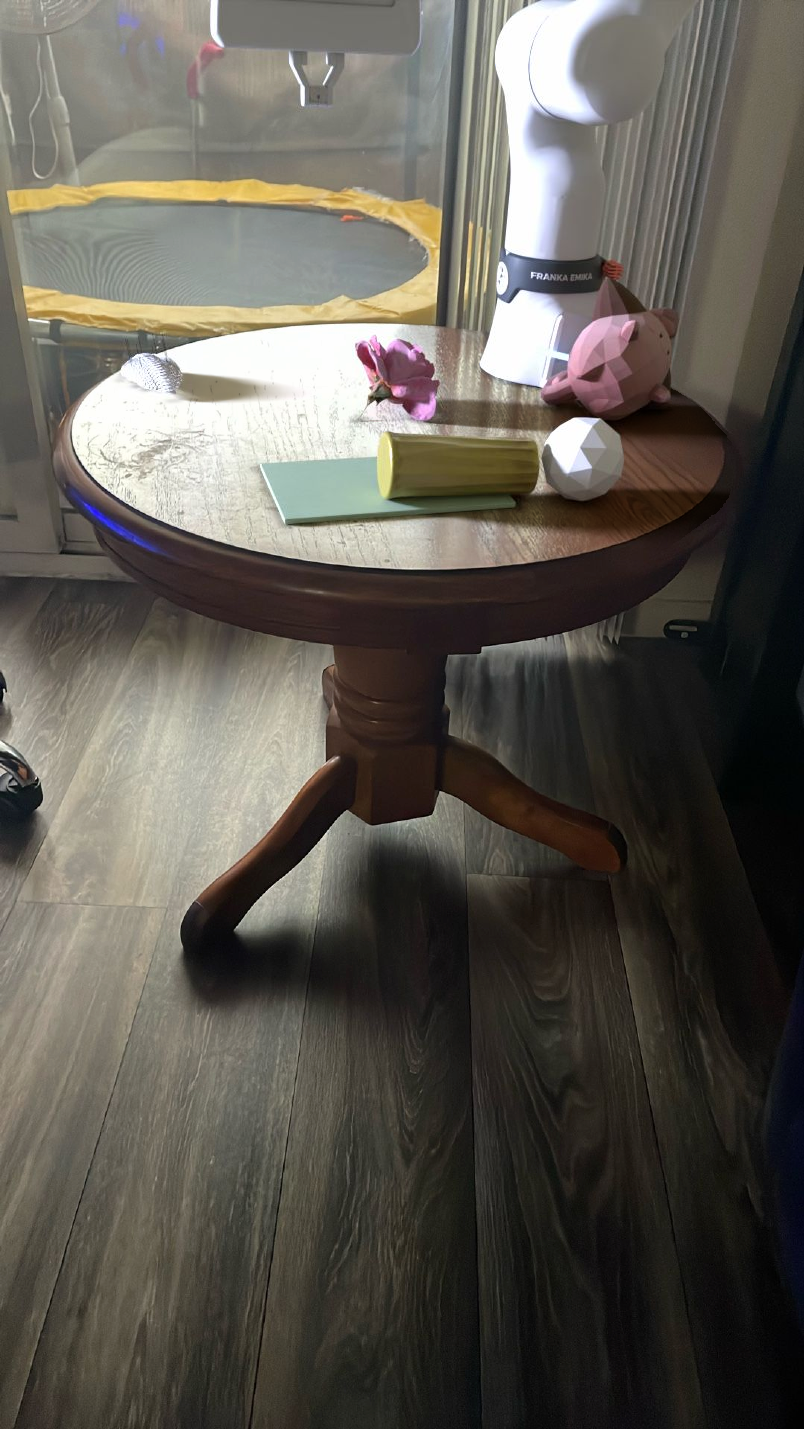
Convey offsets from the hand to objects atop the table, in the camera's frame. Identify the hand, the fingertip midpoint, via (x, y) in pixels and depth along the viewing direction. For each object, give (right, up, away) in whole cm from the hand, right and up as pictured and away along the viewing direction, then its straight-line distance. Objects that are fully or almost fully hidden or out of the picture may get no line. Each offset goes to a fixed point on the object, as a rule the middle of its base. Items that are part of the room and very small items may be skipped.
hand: (316, 106), depth 103 cm
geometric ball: (+26, -40, -3) cm, 47 cm away
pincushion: (-20, -22, +17) cm, 35 cm away
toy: (+28, -26, +12) cm, 40 cm away
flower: (+8, -26, +14) cm, 31 cm away
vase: (+7, -38, -9) cm, 40 cm away
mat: (+7, -39, -4) cm, 40 cm away
